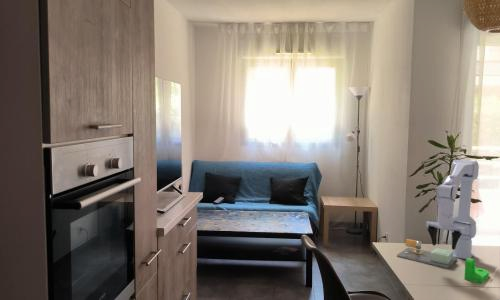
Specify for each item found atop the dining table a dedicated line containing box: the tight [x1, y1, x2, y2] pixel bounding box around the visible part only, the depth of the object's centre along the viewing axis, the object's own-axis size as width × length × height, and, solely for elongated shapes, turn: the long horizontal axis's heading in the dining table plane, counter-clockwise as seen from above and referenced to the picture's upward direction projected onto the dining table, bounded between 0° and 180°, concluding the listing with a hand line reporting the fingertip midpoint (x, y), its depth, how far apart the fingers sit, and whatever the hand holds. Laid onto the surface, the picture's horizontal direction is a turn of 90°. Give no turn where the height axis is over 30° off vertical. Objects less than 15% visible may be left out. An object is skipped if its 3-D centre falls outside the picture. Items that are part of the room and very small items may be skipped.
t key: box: [405, 238, 422, 252], centre depth 201 cm, size 2×7×5 cm, turn 52°
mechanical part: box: [464, 257, 490, 284], centre depth 173 cm, size 12×6×8 cm, turn 136°
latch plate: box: [396, 246, 458, 269], centre depth 195 cm, size 15×22×1 cm
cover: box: [430, 247, 453, 264], centre depth 190 cm, size 9×7×4 cm
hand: (443, 246), depth 179 cm, fingers open, 7 cm apart
